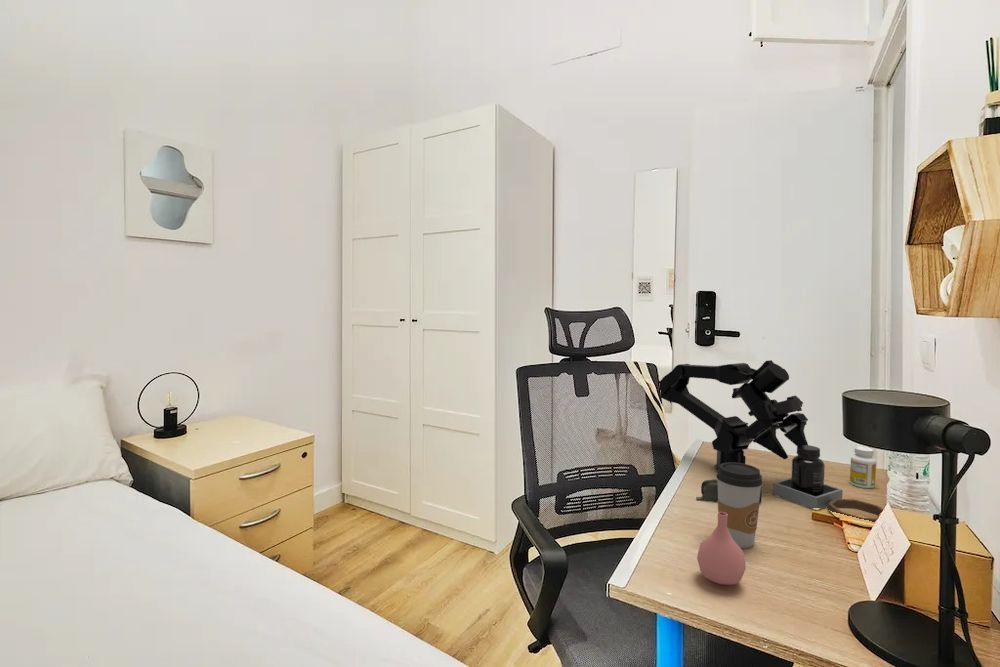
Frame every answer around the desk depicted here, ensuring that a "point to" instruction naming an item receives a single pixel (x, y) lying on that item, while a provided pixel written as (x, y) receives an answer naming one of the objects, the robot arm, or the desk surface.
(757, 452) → the desk surface
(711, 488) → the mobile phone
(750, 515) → the coffee cup
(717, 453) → the robot arm
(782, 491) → the tray
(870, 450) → the supplement bottle
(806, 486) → the supplement bottle
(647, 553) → the desk surface
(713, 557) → the pink vase
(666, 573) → the desk surface
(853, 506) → the brown shallow dish
